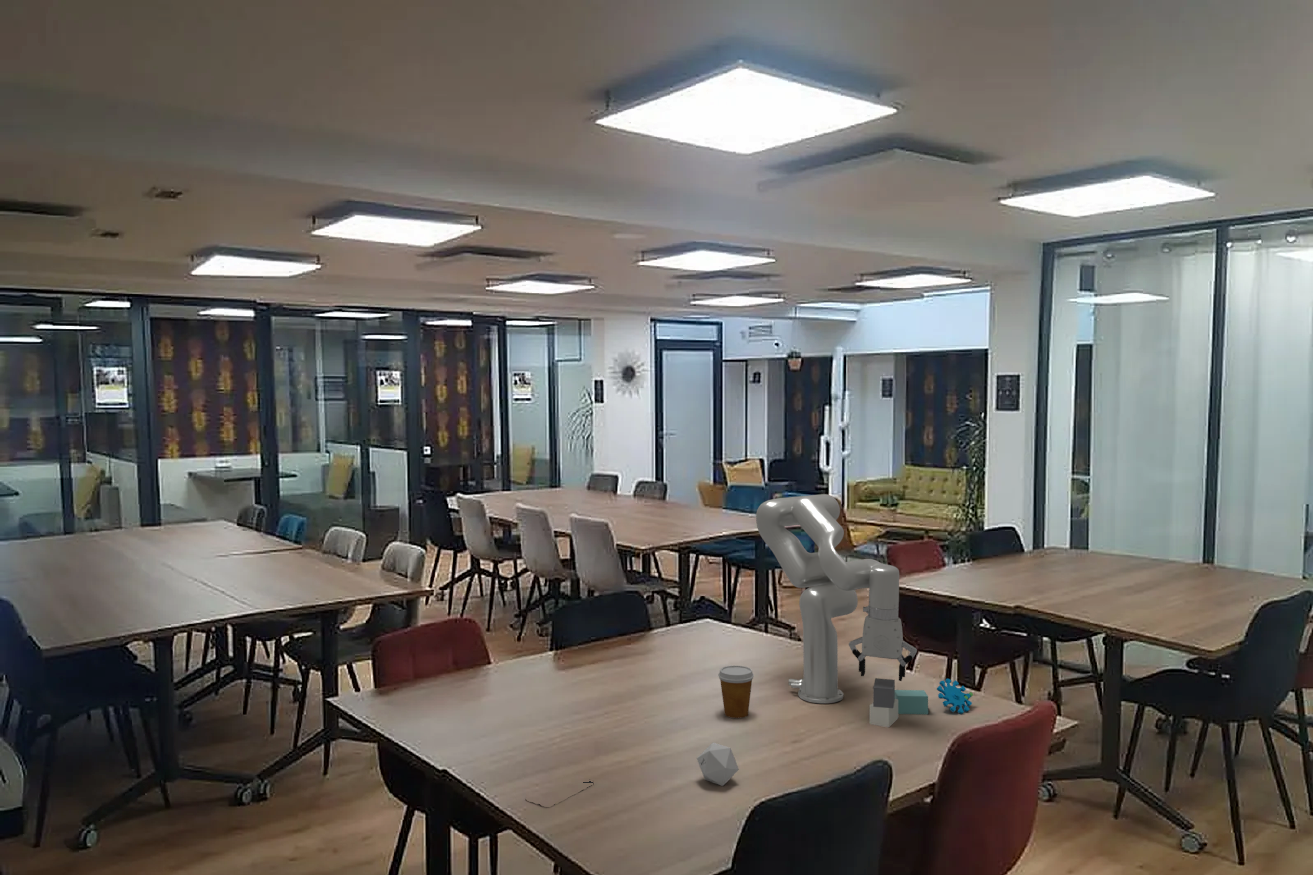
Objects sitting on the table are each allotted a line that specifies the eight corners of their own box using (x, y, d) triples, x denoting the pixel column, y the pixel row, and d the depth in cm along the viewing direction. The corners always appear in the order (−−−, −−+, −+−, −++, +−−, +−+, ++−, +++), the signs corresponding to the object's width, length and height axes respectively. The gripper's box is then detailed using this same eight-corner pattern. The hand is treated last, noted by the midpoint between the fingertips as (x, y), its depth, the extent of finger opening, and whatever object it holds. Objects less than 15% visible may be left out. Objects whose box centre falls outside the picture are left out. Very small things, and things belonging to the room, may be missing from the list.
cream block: (888, 727, 232) (888, 708, 231) (869, 724, 234) (869, 705, 234) (898, 718, 238) (898, 699, 238) (879, 714, 241) (879, 696, 241)
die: (703, 773, 206) (686, 748, 202) (735, 754, 207) (719, 728, 202) (715, 800, 199) (698, 774, 195) (749, 779, 200) (732, 753, 195)
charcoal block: (893, 708, 232) (893, 689, 231) (873, 706, 233) (873, 687, 233) (894, 698, 239) (894, 679, 239) (875, 696, 241) (875, 678, 240)
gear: (947, 711, 238) (934, 677, 245) (936, 721, 242) (923, 687, 249) (981, 711, 242) (967, 677, 248) (969, 722, 246) (956, 688, 252)
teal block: (897, 714, 241) (897, 696, 241) (894, 708, 246) (894, 689, 246) (928, 714, 241) (928, 696, 240) (924, 708, 246) (924, 690, 245)
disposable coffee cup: (758, 711, 245) (758, 667, 244) (747, 722, 236) (746, 677, 236) (725, 706, 249) (725, 663, 248) (713, 717, 240) (712, 673, 240)
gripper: (847, 613, 235) (846, 677, 236) (916, 620, 229) (914, 686, 230) (851, 606, 242) (850, 668, 243) (918, 612, 236) (916, 676, 237)
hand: (881, 677), depth 236 cm, fingers open, 9 cm apart
